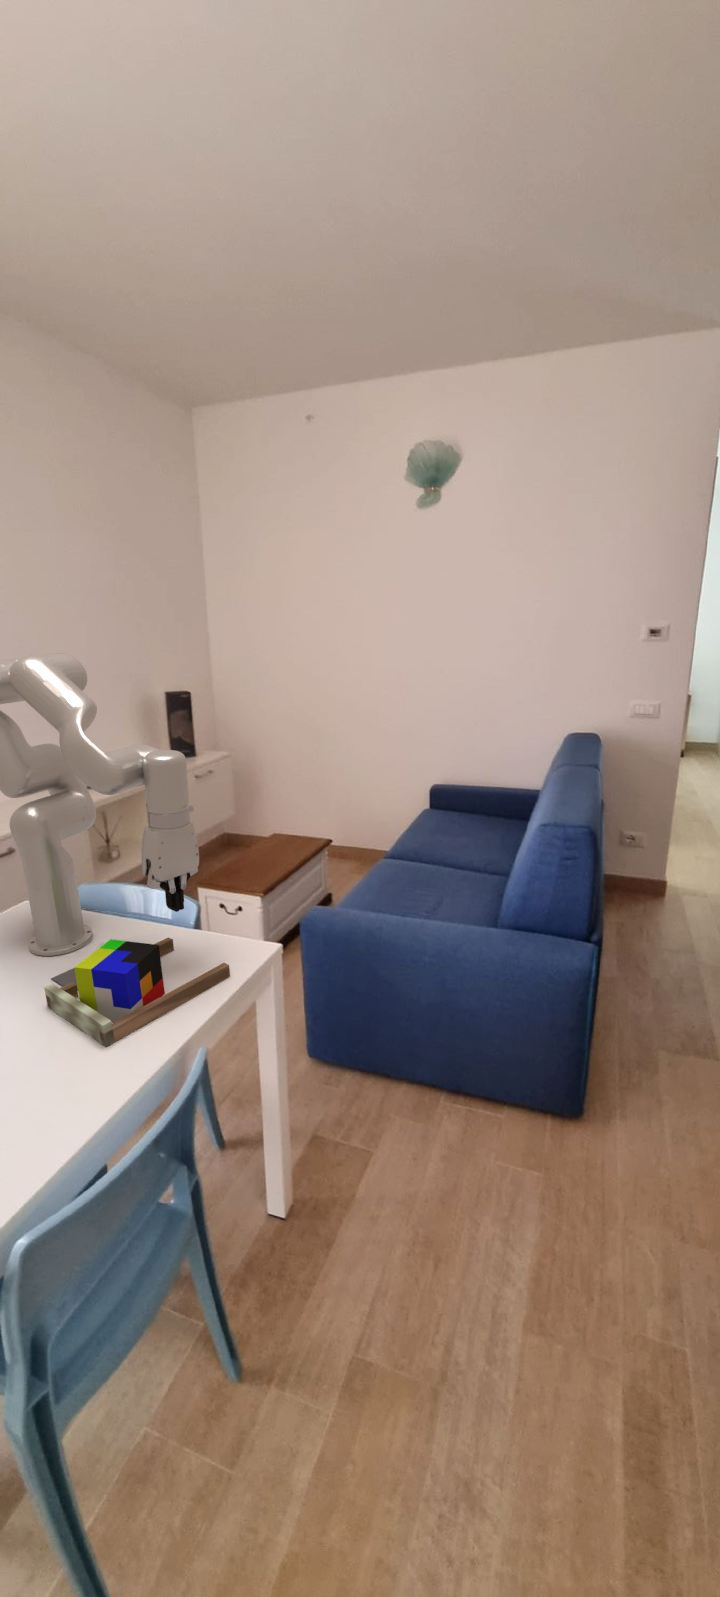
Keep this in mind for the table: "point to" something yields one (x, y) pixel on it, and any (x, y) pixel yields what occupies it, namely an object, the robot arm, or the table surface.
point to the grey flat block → (65, 978)
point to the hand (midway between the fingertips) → (175, 908)
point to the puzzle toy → (120, 978)
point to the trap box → (111, 1032)
